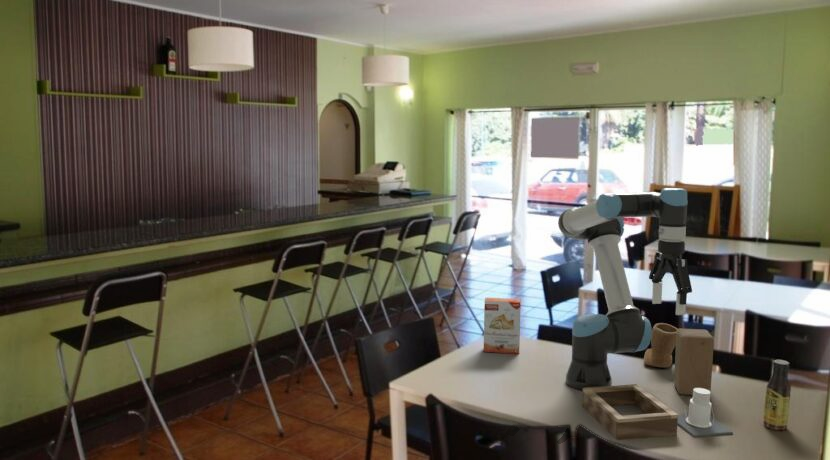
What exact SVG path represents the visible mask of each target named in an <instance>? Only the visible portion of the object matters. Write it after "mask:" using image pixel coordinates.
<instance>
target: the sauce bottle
mask: <svg viewBox="0 0 830 460" xmlns="http://www.w3.org/2000/svg"><path fill="white" fill-rule="evenodd" d="M772 365H773V369H772V375H771V377H770V379H769V380H768V383H767V385H766V389H765V398H764V408H763V416H762V417H763V418H762V419H763V425H764V426H765V427H767V428H769V429H771V430H774V431H778V430H779V431H785V430H786V429H787V427H788V426H787V425H788V421H789V411H790V410H789V409H790V404H791V403H790V402H791V392H792V391H791V389H792V386H791V383H790V380H789V379H788V378H789V377H788V376H789V375H788V373H789V368H790V362H789V361H787V360H783V359H775V360H773V363H772Z"/></svg>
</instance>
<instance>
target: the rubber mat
mask: <svg viewBox="0 0 830 460" xmlns="http://www.w3.org/2000/svg"><path fill="white" fill-rule="evenodd" d="M677 414H678V423H677V426H679V427H680V428H681V429H682V430H684V431H685V432H687V433H688V434H689V435H691V436H692V437H693V438H696V437H707V436H708V437H710V436H721V435H732V434H733V433H734V432H733V431H732V430H731V429H729V428H728V427H727V426H725V425H724V424H722V423H720V422H719V421H718V420H717V419H715V418H714V417H712V416H711V415H710V422H711V424H712V425H711V427H708V428H701V427H696V426H693V425H690V424H688V423H687V422H686V418H688V414H689V412H688V413H687V412H684V413H677ZM686 415H687V417H686ZM713 420H714V423H713Z"/></svg>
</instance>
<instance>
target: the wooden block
mask: <svg viewBox="0 0 830 460" xmlns="http://www.w3.org/2000/svg"><path fill="white" fill-rule="evenodd" d="M714 342H715V339H714V337H713V335H711V333H710V332H709V330H707V329H698V328H697V329H696V328H680V327H679V328H677V333H676V346H675V353H674V354H675V355H674V372H673V373H674V374H673V378H674V379H673V383H674V386H675V388H676V391H677V393H678V394H679V395H683V396H684V395H686V396H693V389H694V388H703V389H707V390H709V391H710V392H711V391H712V376H713V363H714V362H713V360H714V358H713V357H714V345H715V344H714ZM710 395H711V393H710Z"/></svg>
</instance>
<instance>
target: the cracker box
mask: <svg viewBox="0 0 830 460" xmlns="http://www.w3.org/2000/svg"><path fill="white" fill-rule="evenodd" d="M521 306H522V305H521V298H504V297H503V298H500V297H485V298H484V306H483V307H484V308H483V309H484V311H483V312H484V313H483V318H484V320H483V352H484V353H498V354H499V353H500V354H514V355H515V354H517V355H519V354H520V346H521V345H520V344H521V343H520V342H521V338H520V337H521Z"/></svg>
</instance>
